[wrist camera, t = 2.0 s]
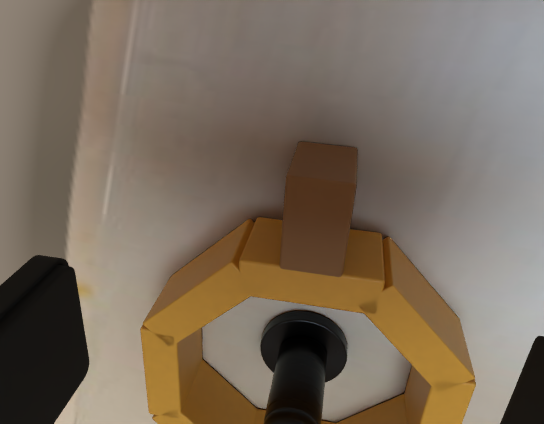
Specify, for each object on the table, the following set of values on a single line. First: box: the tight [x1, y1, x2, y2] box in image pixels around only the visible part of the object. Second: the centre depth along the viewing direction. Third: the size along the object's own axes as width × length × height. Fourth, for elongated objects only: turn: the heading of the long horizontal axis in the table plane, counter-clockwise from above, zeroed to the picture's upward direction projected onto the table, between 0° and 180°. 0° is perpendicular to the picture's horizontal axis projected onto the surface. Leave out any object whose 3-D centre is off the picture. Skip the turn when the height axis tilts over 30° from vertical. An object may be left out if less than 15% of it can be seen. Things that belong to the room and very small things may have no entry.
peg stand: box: [261, 311, 347, 424], centre depth 18 cm, size 4×4×5 cm
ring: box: [141, 142, 476, 424], centre depth 18 cm, size 15×12×3 cm
